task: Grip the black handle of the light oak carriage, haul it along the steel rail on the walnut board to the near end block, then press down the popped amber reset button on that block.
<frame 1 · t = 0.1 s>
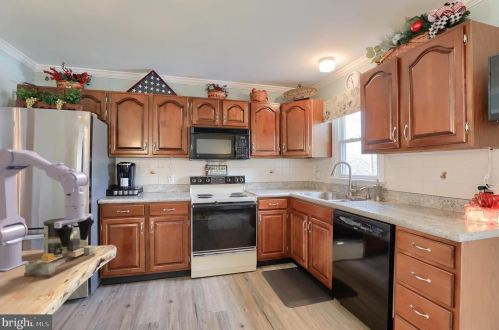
hand: (75, 243, 88), 10 cm above the counter, tool pointing down, fingers open, 7 cm apart
reset button: (47, 257, 83), point 6 cm above the counter, slide at 0.0 cm
rail board: (63, 265, 92), on the counter
carriage: (73, 247, 97), point 5 cm above the counter, slide at 4.5 cm
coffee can: (59, 253, 105), on the counter
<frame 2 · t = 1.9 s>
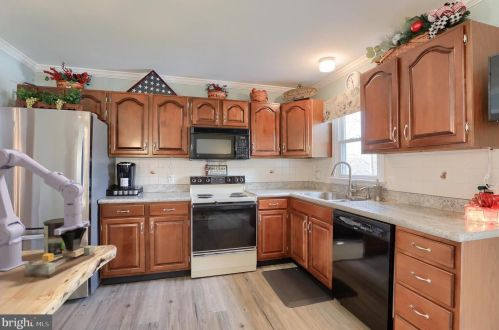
hand: (73, 247, 97), 5 cm above the counter, tool pointing down, fingers closed on carriage, 3 cm apart
carriage: (73, 247, 97), point 5 cm above the counter, slide at 4.5 cm, touching gripper
everything else where it was.
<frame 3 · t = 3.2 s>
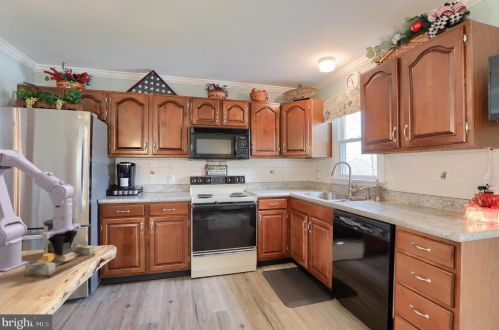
hand: (62, 252, 92), 5 cm above the counter, tool pointing down, fingers closed on carriage, 3 cm apart
carriage: (62, 251, 92), point 5 cm above the counter, slide at -0.1 cm, touching gripper
everything else where it was.
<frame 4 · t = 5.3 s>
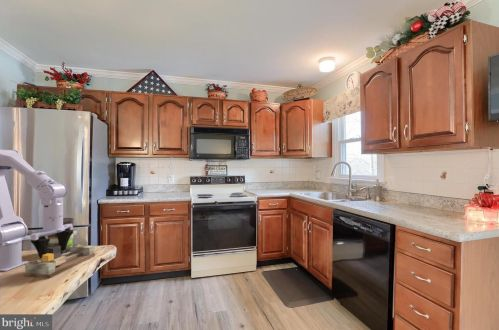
hand: (53, 253, 88), 6 cm above the counter, tool pointing down, fingers open, 7 cm apart
carriage: (53, 255, 88), point 5 cm above the counter, slide at -4.0 cm
everything else where it was.
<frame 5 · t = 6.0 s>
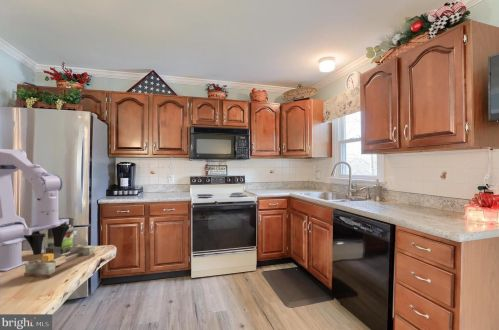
hand: (48, 250, 83), 9 cm above the counter, tool pointing down, fingers open, 7 cm apart
nothing on the counter moved.
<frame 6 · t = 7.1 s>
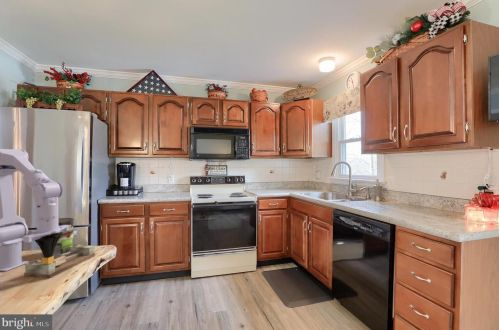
hand: (48, 256, 83), 7 cm above the counter, tool pointing down, fingers closed, pressing on reset button
reset button: (48, 259, 83), point 6 cm above the counter, slide at 0.8 cm, touching gripper
everything else where it was.
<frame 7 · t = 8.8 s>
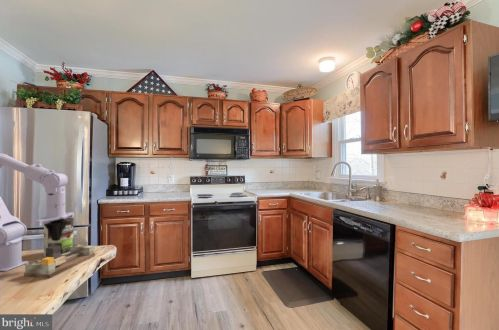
hand: (56, 240, 93), 9 cm above the counter, tool pointing down, fingers closed
reset button: (48, 261, 83), point 5 cm above the counter, slide at 1.3 cm, touching rail board
everything else where it was.
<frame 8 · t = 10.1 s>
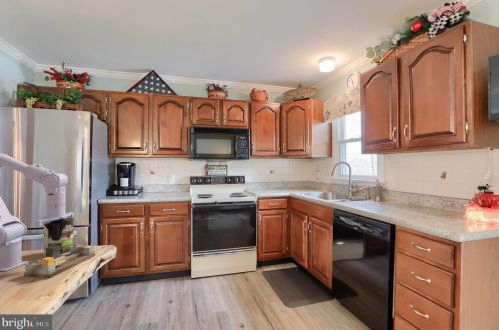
hand: (56, 240, 93), 9 cm above the counter, tool pointing down, fingers closed
nothing on the counter moved.
at the end: carriage slide at -4.0 cm; reset button slide at 1.3 cm; the gripper is holding nothing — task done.
